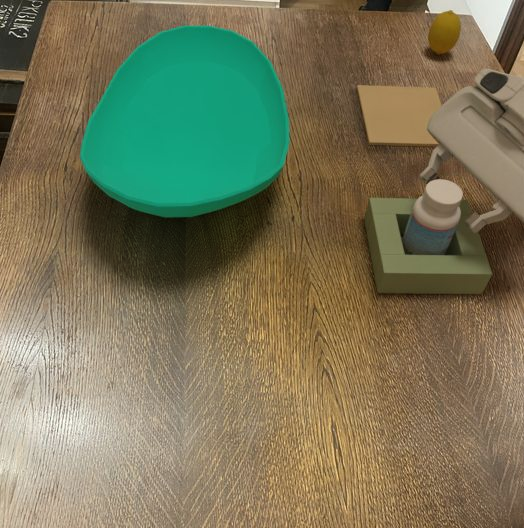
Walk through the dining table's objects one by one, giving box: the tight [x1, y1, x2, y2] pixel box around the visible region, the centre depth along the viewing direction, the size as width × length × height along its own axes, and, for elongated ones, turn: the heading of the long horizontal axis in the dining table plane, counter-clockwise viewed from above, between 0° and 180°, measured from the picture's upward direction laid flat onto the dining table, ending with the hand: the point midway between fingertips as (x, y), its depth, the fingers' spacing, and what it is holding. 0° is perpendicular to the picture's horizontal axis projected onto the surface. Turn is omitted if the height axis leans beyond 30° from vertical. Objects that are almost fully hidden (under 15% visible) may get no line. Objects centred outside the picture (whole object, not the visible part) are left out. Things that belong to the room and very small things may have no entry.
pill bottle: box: [401, 178, 464, 255], centre depth 79 cm, size 6×6×11 cm
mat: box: [356, 84, 443, 148], centre depth 102 cm, size 14×16×1 cm
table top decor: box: [79, 24, 291, 218], centre depth 84 cm, size 40×28×13 cm
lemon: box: [427, 9, 462, 56], centre depth 111 cm, size 6×6×8 cm
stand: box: [363, 197, 493, 295], centre depth 82 cm, size 14×14×4 cm
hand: (446, 204), depth 77 cm, fingers open, 8 cm apart
